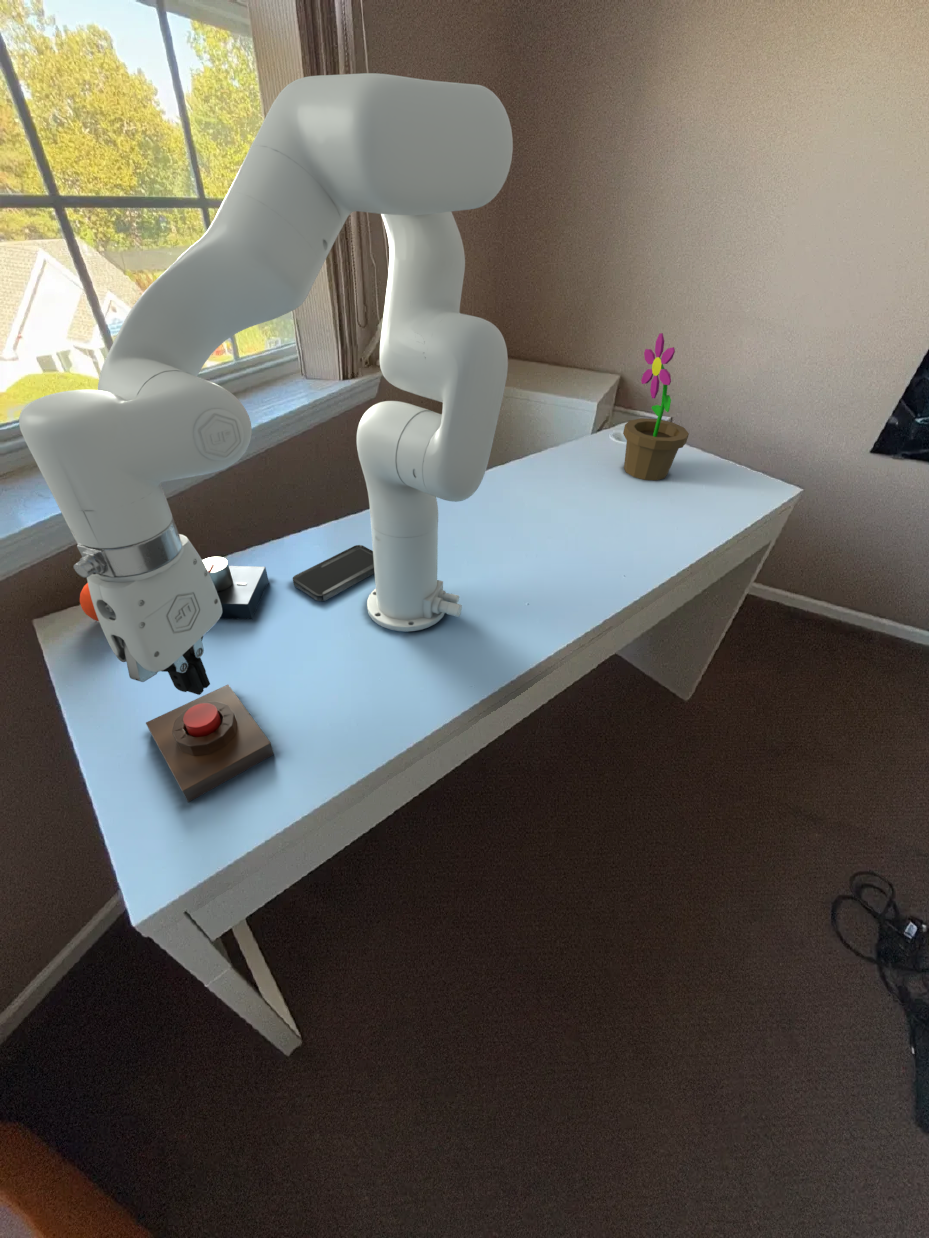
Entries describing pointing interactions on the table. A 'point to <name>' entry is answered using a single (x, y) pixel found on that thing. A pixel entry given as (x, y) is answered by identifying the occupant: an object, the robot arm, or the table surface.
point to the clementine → (87, 603)
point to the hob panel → (243, 592)
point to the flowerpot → (654, 425)
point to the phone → (336, 573)
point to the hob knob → (219, 572)
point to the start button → (202, 720)
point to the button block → (210, 744)
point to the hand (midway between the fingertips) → (193, 686)
